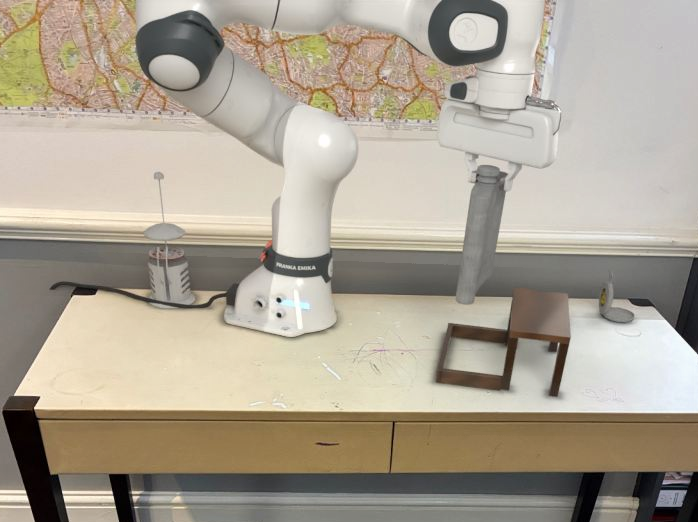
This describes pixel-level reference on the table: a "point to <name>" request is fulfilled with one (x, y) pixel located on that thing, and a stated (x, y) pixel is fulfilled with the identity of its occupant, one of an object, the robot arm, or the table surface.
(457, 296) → the hip flask
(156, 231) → the french press
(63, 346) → the table surface
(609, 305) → the pocket watch
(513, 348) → the shelf stand
